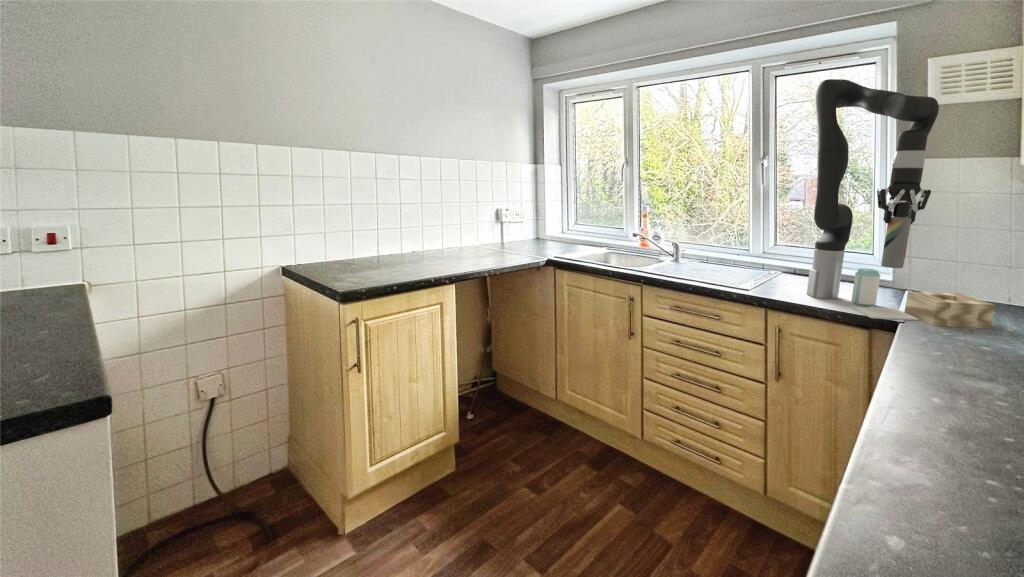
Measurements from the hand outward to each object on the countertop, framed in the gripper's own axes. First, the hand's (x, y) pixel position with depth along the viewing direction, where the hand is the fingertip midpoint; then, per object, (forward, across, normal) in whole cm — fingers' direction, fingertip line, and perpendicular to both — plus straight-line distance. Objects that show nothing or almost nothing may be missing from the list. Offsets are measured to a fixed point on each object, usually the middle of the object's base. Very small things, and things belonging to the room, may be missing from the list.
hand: (898, 223), depth 161 cm
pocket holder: (+29, +15, -4) cm, 33 cm away
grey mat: (+29, 0, 0) cm, 29 cm away
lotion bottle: (+14, 0, 0) cm, 14 cm away
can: (+29, 0, +14) cm, 32 cm away
